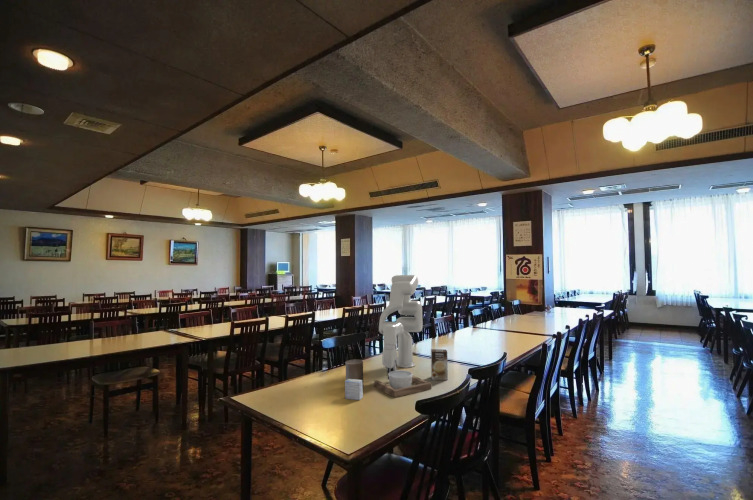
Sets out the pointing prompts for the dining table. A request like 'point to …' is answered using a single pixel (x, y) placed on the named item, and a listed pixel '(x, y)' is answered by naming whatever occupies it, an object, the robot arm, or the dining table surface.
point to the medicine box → (353, 389)
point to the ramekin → (400, 379)
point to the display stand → (420, 386)
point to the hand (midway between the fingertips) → (390, 379)
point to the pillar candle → (354, 369)
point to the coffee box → (439, 364)
